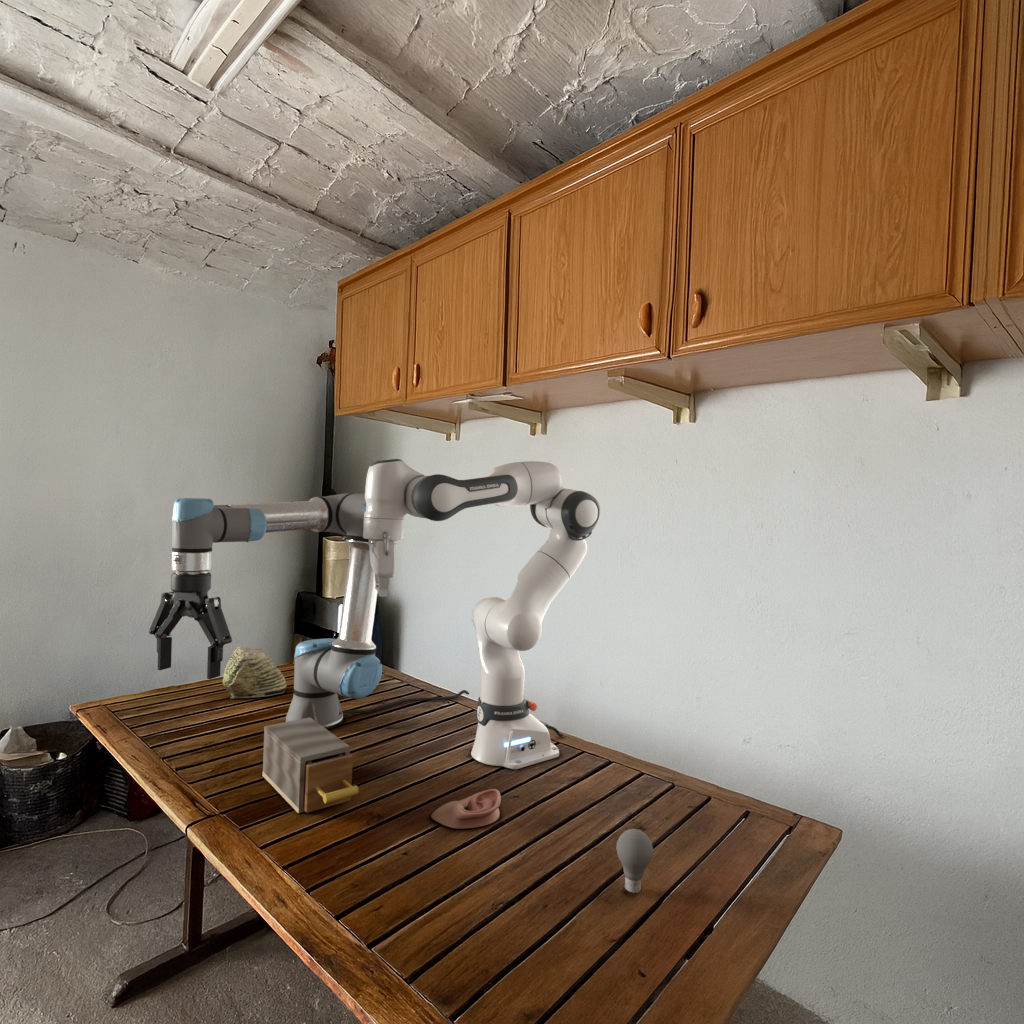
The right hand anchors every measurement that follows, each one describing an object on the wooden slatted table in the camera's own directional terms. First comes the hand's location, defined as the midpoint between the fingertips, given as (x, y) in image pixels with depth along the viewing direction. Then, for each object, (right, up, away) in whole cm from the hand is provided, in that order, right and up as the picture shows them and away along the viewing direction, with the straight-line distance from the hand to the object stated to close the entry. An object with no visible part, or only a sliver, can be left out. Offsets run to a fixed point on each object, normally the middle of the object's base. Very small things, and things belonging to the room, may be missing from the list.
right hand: (380, 593), depth 141 cm
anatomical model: (+20, -44, -13) cm, 50 cm away
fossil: (-51, -39, +57) cm, 86 cm away
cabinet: (-16, -42, -4) cm, 45 cm away
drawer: (-12, -41, -8) cm, 44 cm away
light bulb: (+49, -45, -36) cm, 76 cm away
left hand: (-38, -16, -9) cm, 42 cm away
